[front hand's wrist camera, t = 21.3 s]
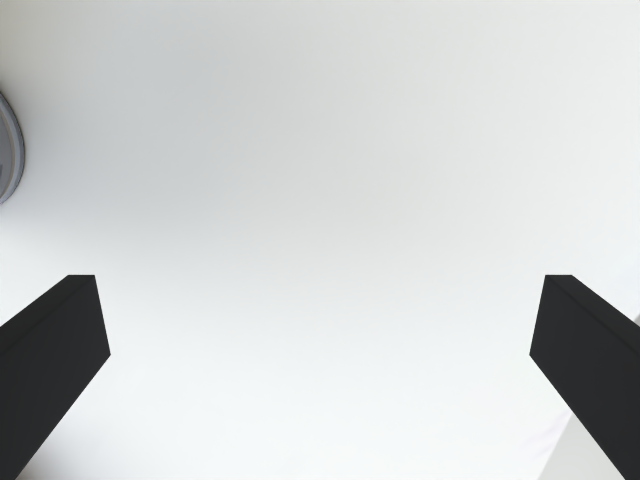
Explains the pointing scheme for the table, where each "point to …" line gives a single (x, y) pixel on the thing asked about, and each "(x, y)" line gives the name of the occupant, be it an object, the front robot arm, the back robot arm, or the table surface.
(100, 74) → the table surface
